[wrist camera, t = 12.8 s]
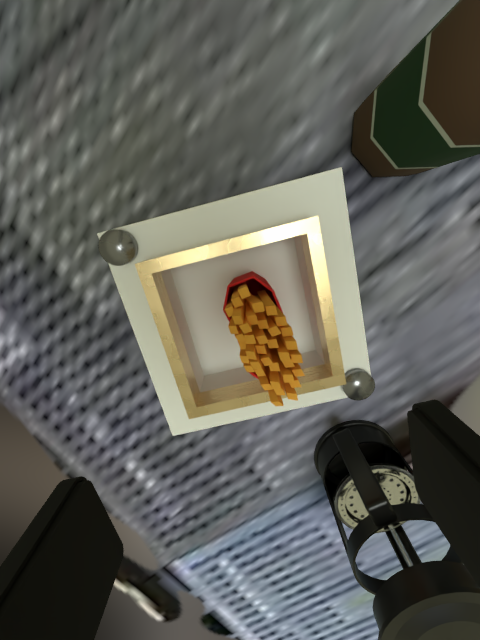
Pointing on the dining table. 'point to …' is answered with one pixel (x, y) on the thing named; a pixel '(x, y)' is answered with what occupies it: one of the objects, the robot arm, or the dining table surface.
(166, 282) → the gold-rimmed square tray
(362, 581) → the french press
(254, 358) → the french fries
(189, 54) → the dining table surface
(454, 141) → the beer bottle
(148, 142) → the dining table surface
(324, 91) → the dining table surface
